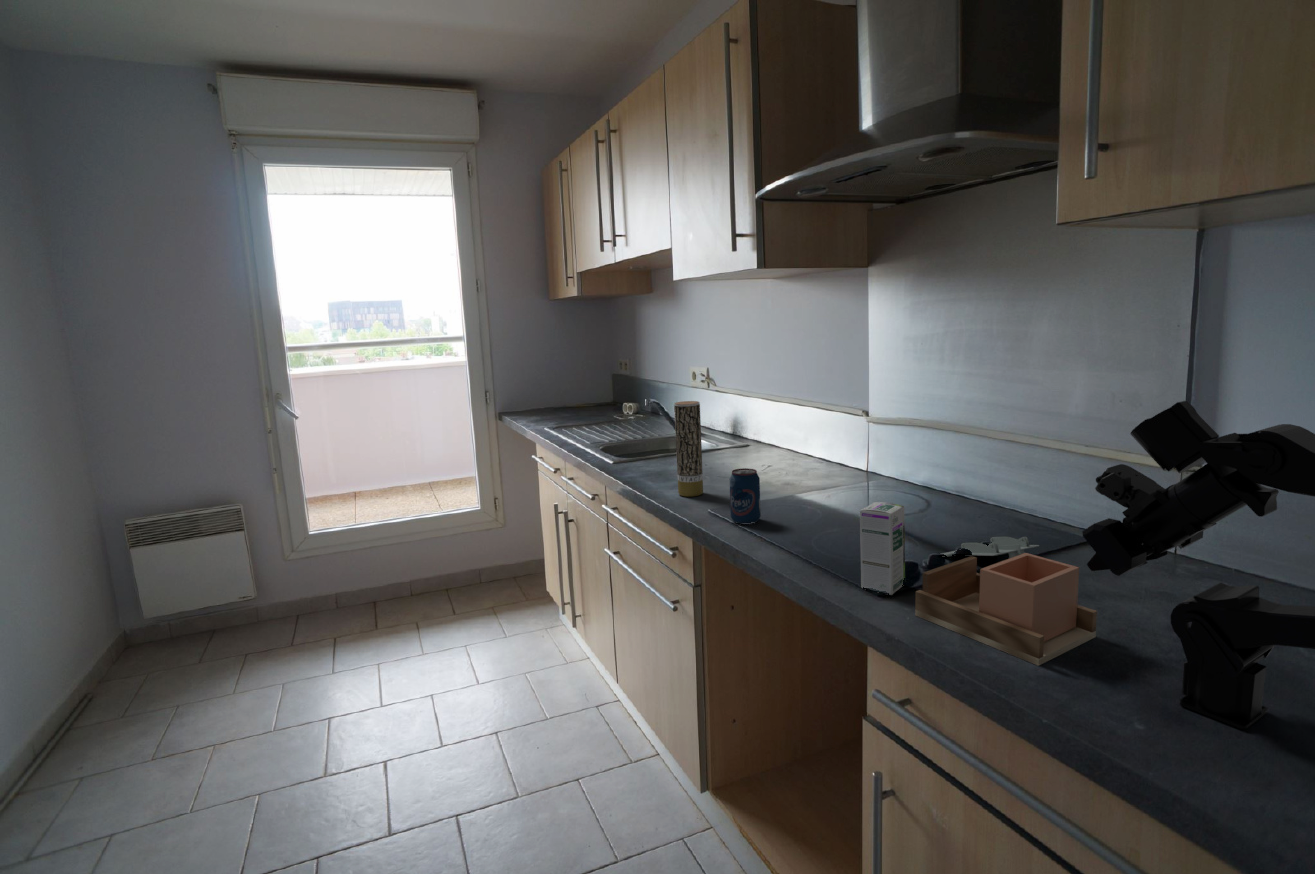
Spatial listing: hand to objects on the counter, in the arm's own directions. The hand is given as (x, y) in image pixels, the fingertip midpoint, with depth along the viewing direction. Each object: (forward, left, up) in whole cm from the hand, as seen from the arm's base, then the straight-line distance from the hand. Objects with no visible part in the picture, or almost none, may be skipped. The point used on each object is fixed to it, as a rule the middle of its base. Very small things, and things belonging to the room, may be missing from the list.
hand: (1092, 566), depth 94 cm
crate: (+9, 0, -12) cm, 15 cm away
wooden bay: (+13, 0, -13) cm, 18 cm away
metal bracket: (+30, -24, -14) cm, 41 cm away
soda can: (+80, -4, -13) cm, 81 cm away
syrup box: (+34, +2, -13) cm, 36 cm away
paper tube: (+109, -8, -13) cm, 110 cm away
